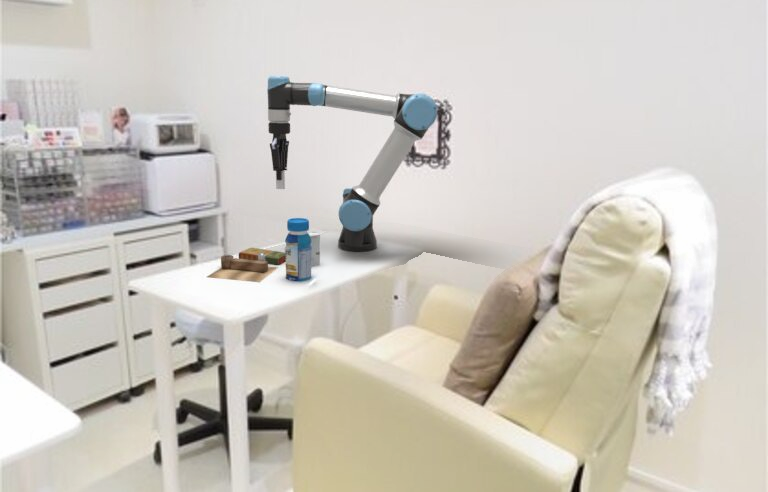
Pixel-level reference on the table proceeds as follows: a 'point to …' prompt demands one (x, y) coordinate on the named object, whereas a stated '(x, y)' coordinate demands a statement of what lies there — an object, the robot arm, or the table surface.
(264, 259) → the stop peg
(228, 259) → the leg bar
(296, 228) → the beverage bottle
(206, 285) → the table surface
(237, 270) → the frame board
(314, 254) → the skincare box
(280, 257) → the carton
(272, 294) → the table surface
